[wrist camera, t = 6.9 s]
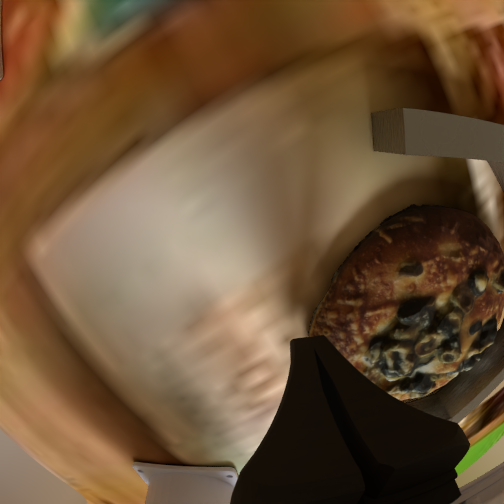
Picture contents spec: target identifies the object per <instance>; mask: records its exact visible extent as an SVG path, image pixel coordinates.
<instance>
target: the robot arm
mask: <svg viewBox="0 0 504 504" xmlns="http://www.w3.org/2000/svg"><path fill="white" fill-rule="evenodd" d="M290 355H291V365H290V371H289V376H288V380H287V384H286V388H285V391H284V394H283V397H282V400H281V403H280V406H279V408H278V411H277V413H276V415H275V417H274V419H273V422H272V424H271V426H270V428H269V430H268V432H267V433H266V435H265V437H264V438H263V440H262V442H261V443H260V445H259V447H258V448H257V450H256V451H255V453H254V454H253V456H252V457H251V458H250V460H249V461H248V462H247V464H246V465H245V466H244V467H243V469H242V470H241V472H240V474H239V477H238V475H237V472H236V470H235V469H234V468H232V467H190V466H172V465H160V464H150V463H142V462H134V463H133V465H132V467H133V468H134V469H135V471H136V472H137V473H138V474H139V475H140V476H141V478H142V479H143V480H144V481H145V482H146V483H147V485H148V491H147V496H146V501H145V504H504V462H503V463H501V464H500V465H498V466H497V467H495V468H494V469H492V470H490V471H489V472H487V473H485V474H484V475H482V476H480V477H479V478H477V479H475V480H473V481H472V482H470V483H468V484H466V485H464V486H462V487H461V488H458V486H457V483H456V481H455V479H456V478H457V473H456V471H455V467H456V466H457V465H458V463H459V462H460V461H461V460H462V459H463V457H464V456H465V455H466V453H467V452H468V450H469V447H470V443H469V441H468V439H467V437H466V435H465V434H464V432H463V430H462V429H461V427H460V426H459V425H458V423H456V422H452V421H449V420H446V419H442V418H439V417H436V416H433V415H430V414H428V413H425V412H423V411H421V410H418V409H416V408H414V407H412V406H410V405H408V404H406V403H404V402H402V401H400V400H399V399H397V398H395V397H393V396H392V395H390V394H388V393H387V392H385V391H384V390H383V389H381V388H380V387H378V386H377V385H376V384H374V383H373V382H372V381H370V380H369V379H368V378H367V377H366V376H364V375H363V374H362V373H361V372H360V371H359V370H358V369H356V368H355V367H354V366H353V365H352V364H351V363H350V362H349V361H348V360H347V359H346V358H345V357H344V356H343V355H342V354H341V353H340V352H339V351H338V350H337V349H336V347H335V346H334V345H333V344H332V343H331V342H330V341H329V340H328V338H327V337H326V336H324V335H320V336H313V337H305V338H297V339H292V340H291V341H290Z"/></svg>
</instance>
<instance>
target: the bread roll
mask: <svg viewBox="0 0 504 504" xmlns="http://www.w3.org/2000/svg"><path fill="white" fill-rule="evenodd" d="M381 224H383V225H381ZM381 224H380V225H381V226H380V227H379V228H378V229H376V230H374V231H372V232H370V233H369V234H368V235H367V236H365V237H366V238H365V239H363V240H362V241H361V242H359V245H357V246H356V247H355V248H354V250H353V251H352V252H351V253H350V254H349V256H348V257H347V259H346V260H345V261H344V263H343V264H342V265H341V266H340V268H339V269H338V271H336V273H335V274H334V275H333V278H332V283H331V287H330V289H329V290H328V292H327V294H326V295H325V297H324V298H323V300H322V301H320V304H319V305H318V307H317V308H316V309H315V311H314V312H313V313H314V315H313V317H312V321H310V323H311V325H310V326H309V327H310V329H309V331H308V333H309V337H313V336H320V335H324V336H326V337H327V338H328V340H329V341H330V342H331V343H332V344H333V345H334V346H335V347H336V349H337V350H338V351H339V352H340V353H341V354H342V355H343V356H344V357H345V358H346V359H347V360H348V361H349V362H350V363H351V364H352V365H353V366H354V367H355V368H356V369H358V370H359V371H360V372H361V373H362V374H363V375H364V376H366V377H367V378H368V379H369V380H370V381H372V382H373V383H374V384H376V385H377V386H378V387H380V388H381V389H383V390H384V391H385V392H387V393H388V394H390V395H392V396H393V397H395V398H397V399H399V400H400V401H401V400H405V399H408V398H412V399H413V398H417V397H423V396H426V395H428V394H429V393H431V392H432V391H434V390H435V389H438V388H439V387H441V386H443V385H445V384H446V383H448V382H449V381H450V380H451V379H453V378H454V377H456V376H457V375H458V373H459V372H462V371H463V370H465V371H468V370H470V369H472V368H473V366H474V365H475V361H476V360H478V361H479V360H480V354H481V352H482V351H483V350H484V349H485V348H486V347H489V346H490V345H492V344H493V342H494V339H495V336H496V334H497V325H498V324H499V321H500V318H501V315H502V310H503V305H504V253H503V251H502V249H501V247H500V244H499V242H498V241H497V239H496V238H495V237H494V235H493V234H492V232H491V231H490V229H489V228H488V227H487V226H486V225H485V223H483V222H482V221H481V220H480V219H479V218H477V217H476V216H474V215H473V214H471V213H468V212H466V211H462V210H459V209H455V208H447V207H443V206H437V205H436V206H429V205H422V206H421V207H420V206H417V205H415V204H413V205H411V206H410V207H407V208H406V209H405V210H404V209H403V211H400V212H398V213H396V214H394V215H393V216H389V218H386V219H385V220H384V221H383V222H382V223H381Z"/></svg>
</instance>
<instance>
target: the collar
mask: <svg viewBox="0 0 504 504" xmlns="http://www.w3.org/2000/svg"><path fill="white" fill-rule="evenodd" d="M372 125H373V141H374V151H379V152H387V153H395V154H403V155H421V156H440V157H455V158H467V159H478V160H487V161H488V163H489V165H490V166H491V168H492V170H493V172H494V174H495V176H496V178H497V180H498V182H499V184H500V186H501V188H502V190H503V192H504V125H501V124H497V123H493V122H489V121H484V120H480V119H475V118H470V117H465V116H459V115H453V114H447V113H441V112H434V111H427V110H419V109H410V108H398V109H392V110H386V111H380V112H374V113H372ZM503 380H504V319H503V322H502V324H501V327H500V329H499V330H498V331H497V334H496V336H495V339H494V342H493V344H492V345H490V346H489V347H486V348H485V349H484V350H483V351H482V352H481V354H480V360H479V361H478V360H476V361H475V365H474V366H473V368H472V369H470V370H468V371H465V370H463V371H462V372H459V373H458V375H457V376H456V377H454V378H453V379H452V380H451V381H450V382H449V383H448V384H446V385H445V386H444V387H443V388H442V389H441V390H440V391H439V392H438V393H436V394H434V395H431V396H428V397H425V398H422V399H419V400H415V401H412V402H409V403H406V404H408V405H410V406H412V407H414V408H416V409H418V410H421V411H423V412H425V413H428V414H430V415H433V416H436V417H439V418H442V419H446V420H449V421H452V422H456V423H459V422H460V421H461V420H462V419H463V418H464V417H466V416H467V415H468V414H469V413H470V412H471V411H472V410H473V409H474V408H476V407H477V406H478V405H479V404H480V403H481V402H482V401H483V400H484V399H485V398H486V397H487V396H488V395H489V394H490V393H491V392H492V391H493V390H494V389H495V388H496V387H497V386H498V385H499V384H500V383H501V382H502V381H503Z"/></svg>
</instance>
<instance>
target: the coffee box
mask: <svg viewBox="0 0 504 504" xmlns="http://www.w3.org/2000/svg"><path fill="white" fill-rule="evenodd" d="M1 6H2V0H0V80H1V79H2V78H3V61H2V45H1Z"/></svg>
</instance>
